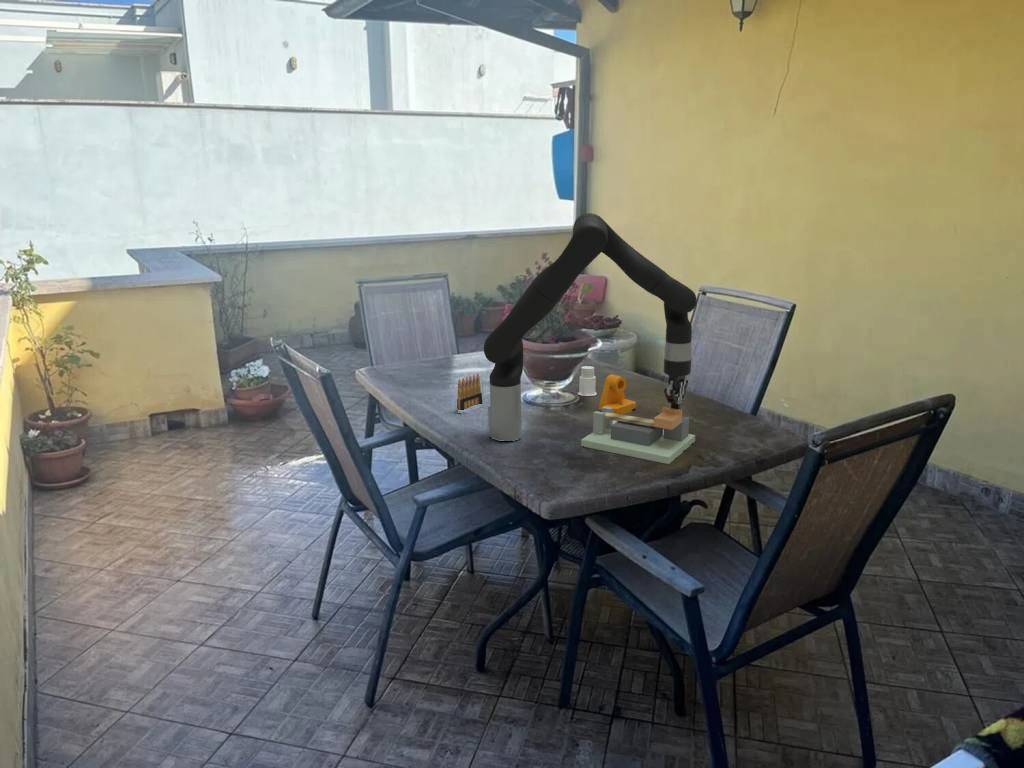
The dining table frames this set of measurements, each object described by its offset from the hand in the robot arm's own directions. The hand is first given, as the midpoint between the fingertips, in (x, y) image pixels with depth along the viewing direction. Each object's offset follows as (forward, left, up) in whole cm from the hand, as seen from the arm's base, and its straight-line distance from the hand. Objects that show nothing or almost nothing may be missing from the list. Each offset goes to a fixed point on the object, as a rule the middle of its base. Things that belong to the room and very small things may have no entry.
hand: (675, 415), depth 206 cm
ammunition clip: (-72, -4, -9) cm, 72 cm away
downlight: (-46, +32, -9) cm, 57 cm away
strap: (-10, -5, -3) cm, 11 cm away
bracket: (-28, +20, -9) cm, 36 cm away
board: (-9, -5, -9) cm, 14 cm away
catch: (0, -6, -1) cm, 6 cm away
